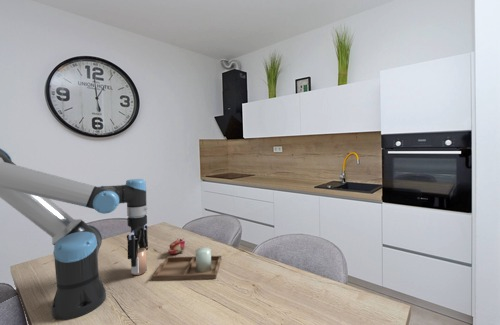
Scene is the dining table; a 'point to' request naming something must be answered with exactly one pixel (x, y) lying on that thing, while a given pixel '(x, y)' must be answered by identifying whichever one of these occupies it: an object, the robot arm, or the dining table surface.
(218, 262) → the wooden divided tray
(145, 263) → the pink cylinder
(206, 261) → the pale green rounded cylinder
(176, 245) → the flower
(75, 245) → the robot arm
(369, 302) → the dining table surface
